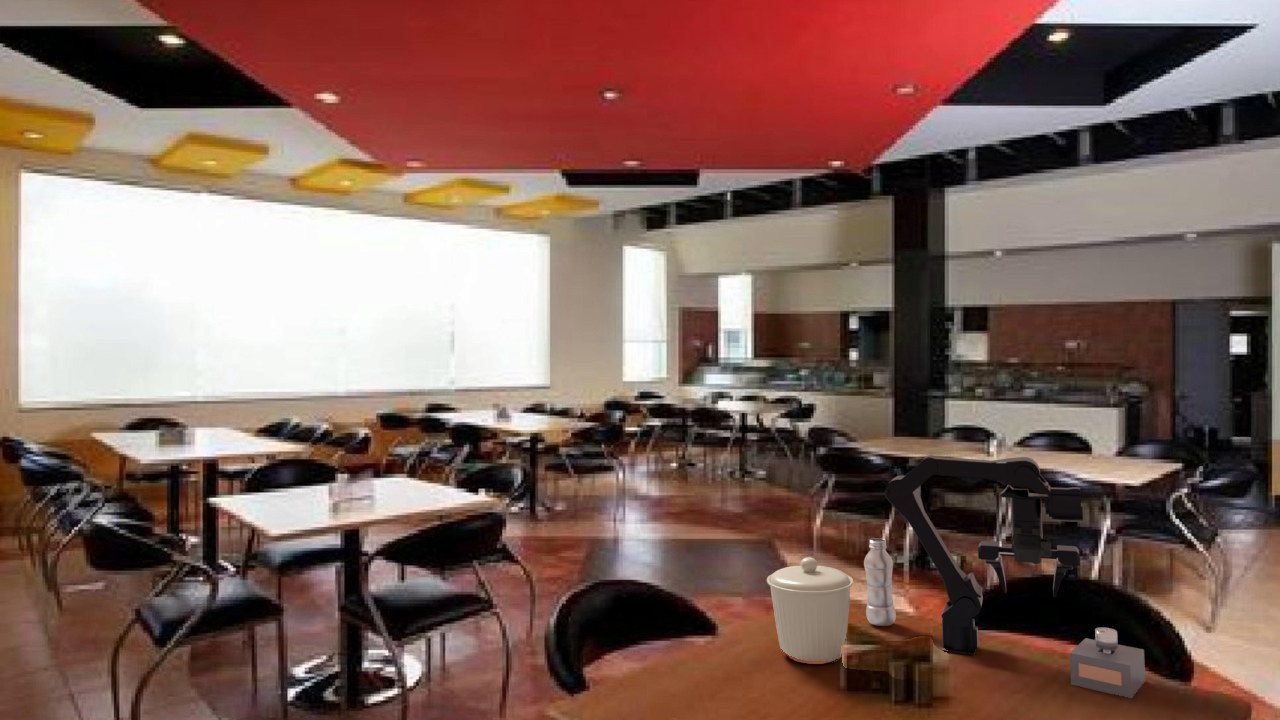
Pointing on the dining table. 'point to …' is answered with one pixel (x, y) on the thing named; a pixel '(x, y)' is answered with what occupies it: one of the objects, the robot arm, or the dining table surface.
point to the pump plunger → (1106, 639)
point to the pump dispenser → (1107, 668)
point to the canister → (811, 610)
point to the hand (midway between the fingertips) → (1029, 594)
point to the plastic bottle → (879, 584)
